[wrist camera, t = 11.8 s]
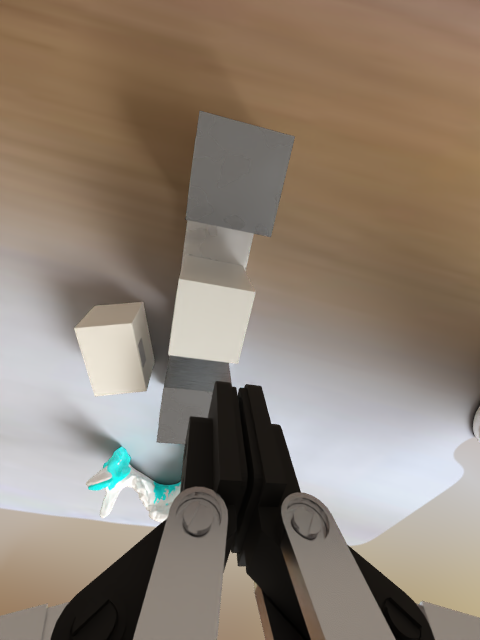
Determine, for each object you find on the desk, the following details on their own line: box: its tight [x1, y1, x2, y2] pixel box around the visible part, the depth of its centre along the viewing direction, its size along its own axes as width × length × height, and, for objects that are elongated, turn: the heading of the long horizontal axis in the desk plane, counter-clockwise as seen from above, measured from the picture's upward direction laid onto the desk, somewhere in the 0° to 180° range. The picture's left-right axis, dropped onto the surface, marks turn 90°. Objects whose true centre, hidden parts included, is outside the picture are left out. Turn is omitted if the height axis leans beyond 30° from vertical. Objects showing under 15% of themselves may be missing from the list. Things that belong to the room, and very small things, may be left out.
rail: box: [157, 111, 295, 444], centre depth 22 cm, size 5×22×8 cm, turn 168°
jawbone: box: [86, 447, 181, 522], centre depth 30 cm, size 12×8×9 cm, turn 87°
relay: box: [74, 302, 155, 396], centre depth 24 cm, size 4×6×4 cm
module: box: [168, 255, 256, 364], centre depth 21 cm, size 5×5×6 cm
